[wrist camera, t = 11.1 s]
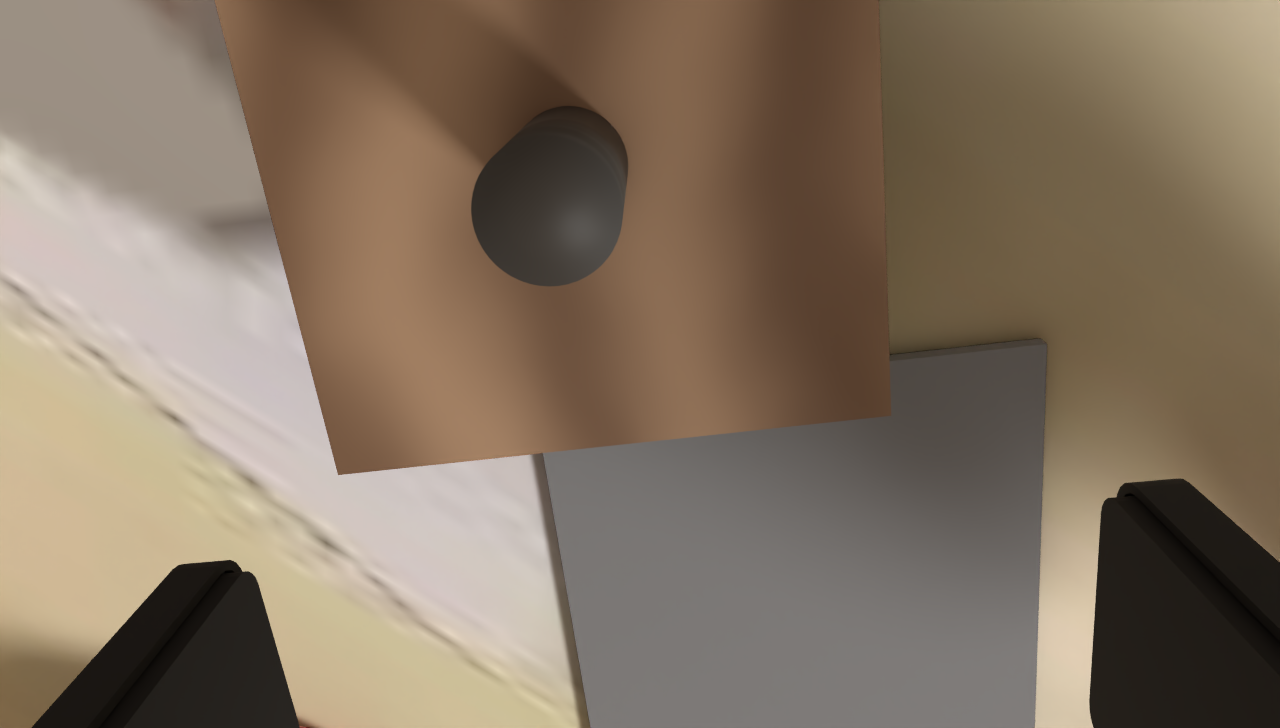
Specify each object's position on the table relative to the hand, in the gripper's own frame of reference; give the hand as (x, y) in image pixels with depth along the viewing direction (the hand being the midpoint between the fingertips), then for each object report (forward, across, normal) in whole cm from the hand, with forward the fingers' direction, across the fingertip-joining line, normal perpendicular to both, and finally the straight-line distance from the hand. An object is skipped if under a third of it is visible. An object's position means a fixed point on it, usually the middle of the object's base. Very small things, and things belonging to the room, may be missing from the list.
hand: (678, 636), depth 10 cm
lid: (+17, +2, -3) cm, 17 cm away
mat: (+23, -4, +15) cm, 28 cm away
